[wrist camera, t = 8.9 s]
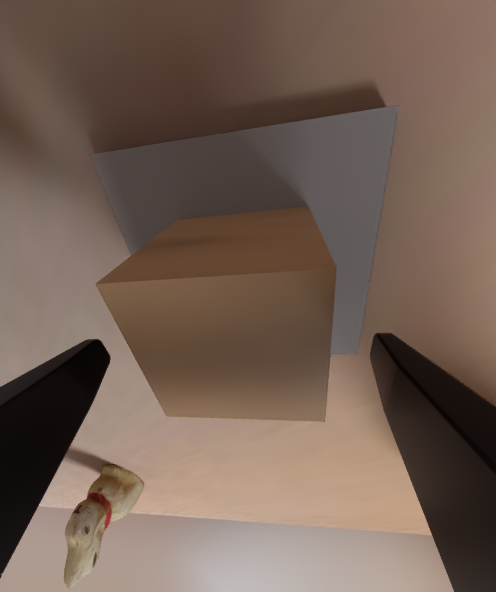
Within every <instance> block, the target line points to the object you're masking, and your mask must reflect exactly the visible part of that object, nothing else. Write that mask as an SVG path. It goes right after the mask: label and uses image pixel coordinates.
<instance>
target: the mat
mask: <svg viewBox="0 0 496 592" xmlns="http://www.w3.org/2000/svg"><path fill="white" fill-rule="evenodd" d="M398 107H399V105H395V106H389V107H383V108H376V109H370V110H364V111H358V112H351V113H345V114H339V115H333V116H326V117H320V118H314V119H308V120H302V121H295V122H289V123H283V124H277V125H270V126H264V127H258V128H252V129H245V130H239V131H233V132H227V133H220V134H214V135H208V136H202V137H195V138H189V139H183V140H177V141H170V142H164V143H158V144H152V145H146V146H139V147H133V148H127V149H121V150H114V151H108V152H102V153H96V154H90V157H91V159H92V161H93V164H94V166H95V169H96V171H97V174H98V176H99V178H100V181H101V183H102V186H103V188H104V190H105V193H106V195H107V198H108V200H109V203H110V205H111V207H112V210H113V212H114V215H115V217H116V219H117V222H118V224H119V227H120V229H121V232H122V234H123V236H124V239H125V241H126V244H127V246H128V248H129V251H130V253H131V256H132V255H133V254H134V253H136V252H137V251H138V250H139V249H141V248H142V247H143V246H145V245H146V244H147V243H148V242H150V241H151V240H152V239H154V238H155V237H156V236H157V235H159V234H160V233H161V232H162V231H164V230H165V229H166V228H168V227H169V226H170V225H171V224H173V223H174V222H175V221H177V220H182V219H191V218H201V217H210V216H219V215H229V214H238V213H247V212H257V211H266V210H276V209H285V208H294V207H304V206H309V208H310V210H311V212H312V215H313V217H314V219H315V221H316V223H317V226H318V228H319V230H320V232H321V234H322V237H323V239H324V241H325V243H326V245H327V248H328V250H329V252H330V254H331V256H332V259H333V261H334V263H335V265H336V267H337V275H336V287H335V300H334V313H333V326H332V339H331V352H330V354H358V349H359V343H360V337H361V331H362V325H363V319H364V313H365V306H366V300H367V294H368V288H369V282H370V276H371V270H372V264H373V258H374V252H375V246H376V240H377V234H378V228H379V222H380V216H381V210H382V204H383V198H384V192H385V186H386V180H387V174H388V168H389V162H390V155H391V149H392V143H393V137H394V131H395V125H396V119H397V113H398Z"/></svg>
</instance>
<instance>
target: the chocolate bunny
mask: <svg viewBox="0 0 496 592" xmlns="http://www.w3.org/2000/svg"><path fill="white" fill-rule="evenodd" d="M143 487H144V483H143V482H142V481H141V479H140V478H139V477H138V476H137V475H135V474H134V473H133V472H131V471H129V470H127V469H125V468H123V467H120V466H117V465H113V464H107V465H105V466H104V467H103V468H102V471H101V475H100V477H99V478H98V479H97V480H96V481H95V482H94V483H93V484H92V485H91V487H90V489H89V491H88V496H87V499H86V500H84V501H82V502H81V503H79V504H78V505H77V506H76V508H75V510H74V512H73V513H72V516H71V517H70V520H69V522H68V524H67V526H66V530H65V536H66V539H67V545H68V554H67V560H66V564H65V569H64V582H65V584H66V586H67V588H71V587H73V586H74V585H75V584H76V583H77V582H78V581H79V580H80V579H81V578H82V577H83V576H85V575H87V574H89V573H91V571H92V570H93V568H94V567H95V565H96V562H97V559H98V557H99V551H100V546H101V540H102V536H103V533H104V531H105V529H106V528H107V526H108V525H109V524H110V523H111V522H113V521H115V520H118V519H120V518H122V517H125V516H126V515H127V514H128V513H129V512H130V510H131V509H132V508H133V506H134V505H135V504H136V502H137V501H138V499H139V497H140V495H141V492H142V490H143Z"/></svg>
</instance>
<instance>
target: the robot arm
mask: <svg viewBox="0 0 496 592" xmlns="http://www.w3.org/2000/svg"><path fill="white" fill-rule="evenodd" d="M370 359H371V364H372V368H373V371H374V375H375V379H376V383H377V386H378V390H379V394H380V398H381V402H382V405H383V409H384V412H385V415H386V417H387V420H388V423H389V425H390V428H391V430H392V433H393V436H394V438H395V441H396V443H397V446H398V448H399V451H400V454H401V456H402V459H403V461H404V464H405V466H406V469H407V472H408V474H409V477H410V479H411V482H412V484H413V487H414V490H415V492H416V495H417V497H418V500H419V502H420V505H421V508H422V510H423V513H424V515H425V518H426V520H427V523H428V526H429V528H430V531H431V533H432V536H433V538H434V541H435V544H436V546H437V549H438V551H439V553H440V556H441V559H442V562H443V564H444V566H445V569H446V572H447V574H448V577H449V579H450V582H451V584H452V587H453V589H454V592H496V406H494V405H493V404H492V403H490V402H489V401H487V400H486V399H484V398H483V397H482V396H480V395H479V394H477V393H476V392H474V391H473V390H472V389H470V388H469V387H467V386H466V385H464V384H463V383H462V382H460V381H459V380H457V379H456V378H454V377H453V376H452V375H450V374H449V373H447V372H446V371H444V370H443V369H442V368H440V367H439V366H437V365H436V364H435V363H433V362H432V361H430V360H429V359H427V358H426V357H425V356H423V355H422V354H420V353H419V352H417V351H416V350H415V349H413V348H412V347H410V346H409V345H407V344H406V343H405V342H403V341H402V340H400V339H399V338H397V337H396V336H395V335H393V334H391V333H376V334H375V335H374V338H373V342H372V347H371V352H370ZM109 363H110V355H109V353H108V351H107V350H106V348H105V346H104V345H103V343H102V342H101V341H100V340H98V339H88V340H85V341H83V342H81V343H79V344H78V345H76V346H74V347H72V348H70V349H68V350H67V351H65V352H63V353H61V354H59V355H58V356H56V357H54V358H52V359H50V360H49V361H47V362H45V363H43V364H41V365H39V366H38V367H36V368H34V369H32V370H30V371H29V372H27V373H25V374H23V375H21V376H20V377H18V378H16V379H14V380H12V381H10V382H9V383H7V384H5V385H3V386H1V387H0V578H1V576H2V575H1V574H2V573H3V572H4V570H5V568H6V566H7V564H8V562H9V560H10V559H11V557H12V555H13V553H14V551H15V549H16V547H17V545H18V543H19V541H20V540H21V538H22V536H23V534H24V532H25V530H26V528H27V526H28V524H29V523H30V521H31V519H32V517H33V515H34V513H35V511H36V509H37V507H38V506H39V504H40V502H41V500H42V498H43V496H44V494H45V492H46V491H47V489H48V487H49V485H50V483H51V481H52V479H53V477H54V475H55V474H56V472H57V470H58V468H59V466H60V464H61V462H62V460H63V458H64V457H65V455H66V453H67V451H68V449H69V447H70V445H71V443H72V441H73V440H74V438H75V436H76V434H77V432H78V430H79V428H80V426H81V424H82V423H83V421H84V419H85V417H86V415H87V413H88V411H89V409H90V407H91V405H92V403H93V401H94V399H95V397H96V394H97V392H98V389H99V387H100V385H101V382H102V380H103V378H104V375H105V373H106V370H107V368H108V366H109Z"/></svg>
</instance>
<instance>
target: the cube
mask: <svg viewBox="0 0 496 592" xmlns="http://www.w3.org/2000/svg"><path fill="white" fill-rule="evenodd" d="M336 275H337V267H336V265H335V263H334V261H333V259H332V256H331V254H330V252H329V250H328V248H327V245H326V243H325V241H324V239H323V237H322V234H321V232H320V230H319V228H318V226H317V223H316V221H315V219H314V217H313V215H312V212H311V210H310V208H309V206H304V207H294V208H285V209H276V210H266V211H257V212H247V213H238V214H229V215H219V216H210V217H201V218H191V219H182V220H177V221H175V222H174V223H173V224H171V225H170V226H169V227H168V228H166V229H165V230H164V231H162V232H161V233H160V234H159V235H157V236H156V237H155V238H154V239H152V240H151V241H150V242H148V243H147V244H146V245H145V246H143V247H142V248H141V249H139V250H138V251H137V252H136V253H134V254H133V255H132V256H131V257H129V258H128V259H127V260H125V261H124V262H123V263H122V264H120V265H119V266H118V267H116V268H115V269H114V270H113V271H111V272H110V273H109V274H108V275H106V276H105V277H104V278H102V279H101V280H100V281H99V282H97V283H96V286H97V288H98V290H99V292H100V294H101V296H102V297H103V299H104V301H105V303H106V305H107V307H108V309H109V310H110V312H111V314H112V316H113V318H114V320H115V322H116V323H117V325H118V327H119V329H120V331H121V333H122V335H123V336H124V338H125V340H126V342H127V344H128V346H129V348H130V349H131V351H132V353H133V355H134V357H135V359H136V361H137V362H138V364H139V366H140V368H141V370H142V372H143V374H144V375H145V377H146V379H147V381H148V383H149V385H150V387H151V388H152V390H153V392H154V394H155V396H156V398H157V400H158V401H159V403H160V405H161V407H162V409H163V411H164V413H165V415H166V416H171V417H201V418H232V419H262V420H293V421H323V422H325V416H326V404H327V391H328V378H329V365H330V352H331V339H332V326H333V313H334V300H335V287H336Z"/></svg>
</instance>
